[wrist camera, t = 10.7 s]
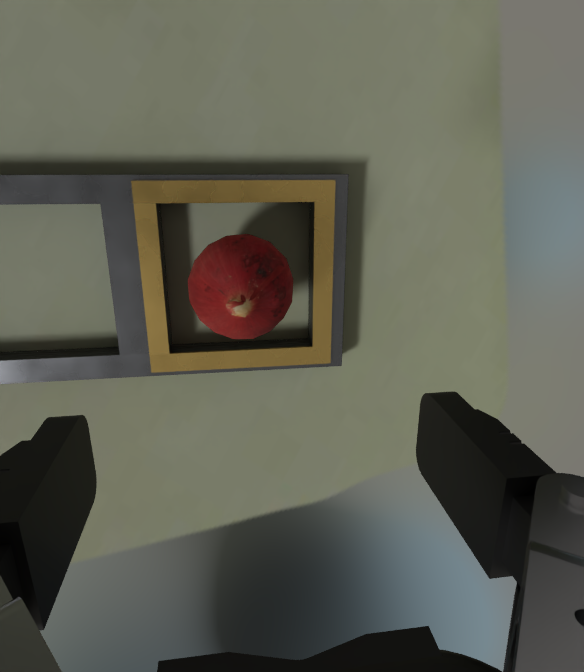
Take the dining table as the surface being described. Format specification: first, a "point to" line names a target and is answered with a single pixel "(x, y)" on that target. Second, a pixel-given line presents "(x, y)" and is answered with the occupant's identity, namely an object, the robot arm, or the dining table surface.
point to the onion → (240, 286)
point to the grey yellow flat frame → (151, 285)
